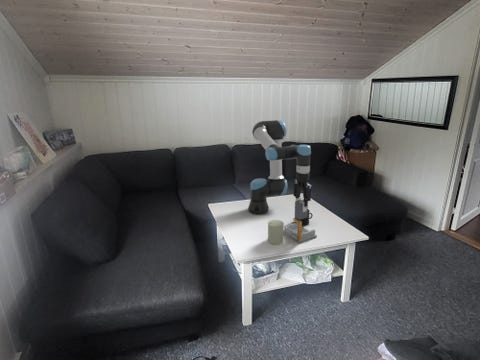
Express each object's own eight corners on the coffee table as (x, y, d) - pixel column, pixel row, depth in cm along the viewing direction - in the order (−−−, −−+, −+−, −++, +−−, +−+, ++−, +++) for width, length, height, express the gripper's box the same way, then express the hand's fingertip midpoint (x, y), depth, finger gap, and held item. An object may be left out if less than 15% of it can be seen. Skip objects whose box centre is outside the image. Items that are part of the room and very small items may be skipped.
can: (266, 237, 178) (266, 219, 174) (281, 236, 178) (281, 218, 175) (269, 245, 169) (269, 226, 165) (284, 244, 170) (285, 225, 166)
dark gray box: (294, 217, 177) (294, 201, 174) (302, 214, 180) (302, 199, 177) (299, 219, 173) (300, 203, 170) (307, 217, 176) (308, 201, 173)
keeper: (281, 232, 183) (282, 212, 179) (298, 227, 190) (299, 207, 186) (299, 243, 170) (299, 222, 166) (316, 237, 177) (318, 216, 173)
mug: (314, 225, 192) (315, 212, 190) (296, 226, 191) (297, 213, 188) (309, 219, 201) (310, 206, 199) (292, 220, 200) (293, 208, 197)
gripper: (287, 169, 174) (286, 206, 181) (309, 176, 160) (307, 216, 166) (297, 168, 178) (296, 203, 185) (319, 174, 163) (316, 213, 170)
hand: (301, 209), depth 175 cm, fingers closed on dark gray box, 5 cm apart
